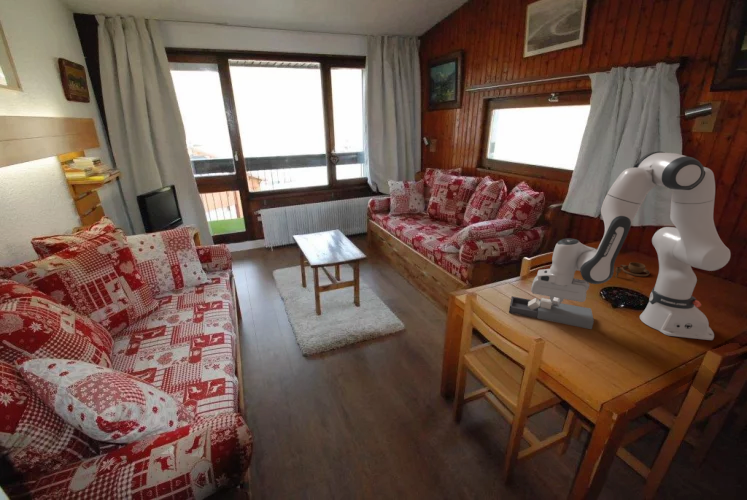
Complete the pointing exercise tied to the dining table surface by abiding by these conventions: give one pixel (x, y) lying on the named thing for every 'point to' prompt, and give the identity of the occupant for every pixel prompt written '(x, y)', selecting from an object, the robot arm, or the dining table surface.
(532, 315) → the tray
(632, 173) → the robot arm
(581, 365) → the dining table surface
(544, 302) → the tile
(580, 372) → the dining table surface
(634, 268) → the place setting
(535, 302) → the tile
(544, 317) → the long flat grey base
